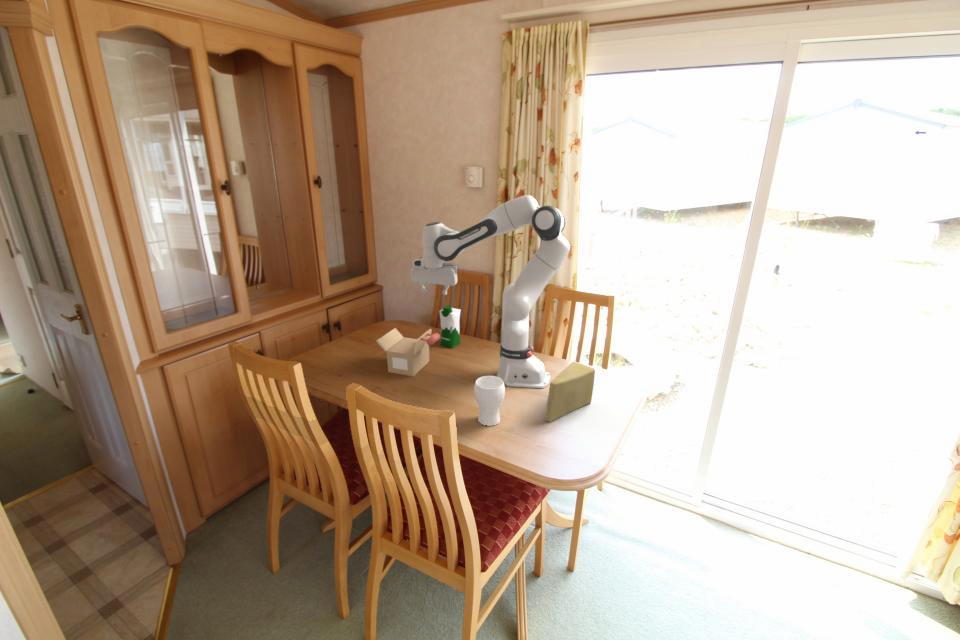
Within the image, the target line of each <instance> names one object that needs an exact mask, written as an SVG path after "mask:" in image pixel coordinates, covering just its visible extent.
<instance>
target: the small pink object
mask: <svg viewBox="0 0 960 640" xmlns="http://www.w3.org/2000/svg"><path fill="white" fill-rule="evenodd" d="M416 339H417V340H416V341H414V348H413V355H415V354H416V353H417V352H419V351H420V350H421V349H422V348H423V347H424V346H425V345H427V344H428V345H429V347H430V346H433V345H434V344H435V343H436V342H437V341H438V340H440V339H441V334H439V333H438V332H435V333H433V334H432V328H429V329H428V330H426V331H425V332H424V333H423V334H422V335H420V336H419V337H418V338H416Z"/></svg>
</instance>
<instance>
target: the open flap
mask: <svg viewBox="0 0 960 640" xmlns="http://www.w3.org/2000/svg"><path fill="white" fill-rule="evenodd" d="M404 337H405V336H403V334H402V333H400V331H399V330H398V329H397V328H396V327H394V328H393V329H391V330H390V331H388V332H387V333H386V334H384V335H383V336H381V337H379V338H378V339H377V340H376V341H375V342H376V343H377V344H378V345H379V347H381V348H382V350H383V351H384V352H385V353H387V350H389V349H390V348H391V347H393V346H394V345H395V344H396V343H398V342H399V341H400V340H402V339H403V338H404Z"/></svg>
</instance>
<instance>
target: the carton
mask: <svg viewBox="0 0 960 640" xmlns="http://www.w3.org/2000/svg"><path fill="white" fill-rule="evenodd" d="M403 337H404V338H403V339H401V340H400V341H399V342H398V343H396V344H395V345H394V346H392V347H391V348H390V349H388V350H387V351H386V361H387V362H386V363H387V372H388V373H391V374H396V375H402V376H408V377H414V376H416V375H417V374H418V372H420V371H421V369H423V368H424V367H425V366H426V365H427V364H428V363H429V362H430V345H428V344H427V345H425V346H424V347H423V348H422V349H421V350H420V351H419V352H417V353H416V354H415V355H413V348H414V341H416V340H417V339H418V338H411V337H405V336H403Z"/></svg>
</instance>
